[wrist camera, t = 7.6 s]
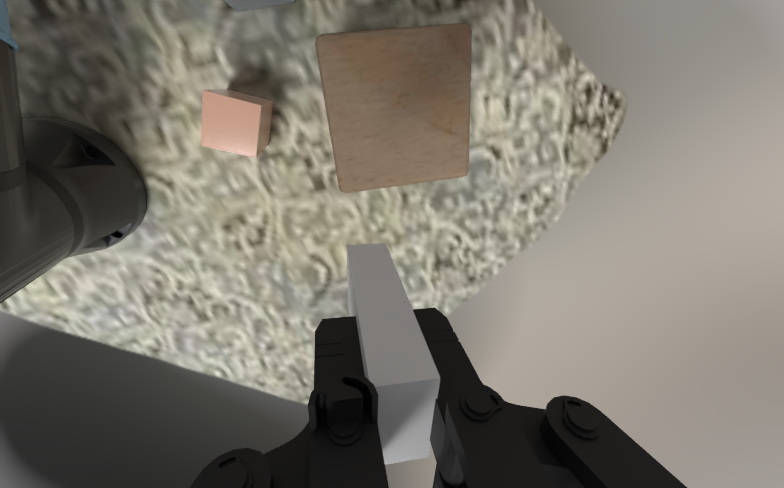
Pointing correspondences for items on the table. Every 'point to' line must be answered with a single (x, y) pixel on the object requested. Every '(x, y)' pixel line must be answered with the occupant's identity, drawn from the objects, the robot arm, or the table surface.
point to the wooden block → (397, 104)
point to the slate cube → (255, 4)
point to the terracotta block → (235, 122)
